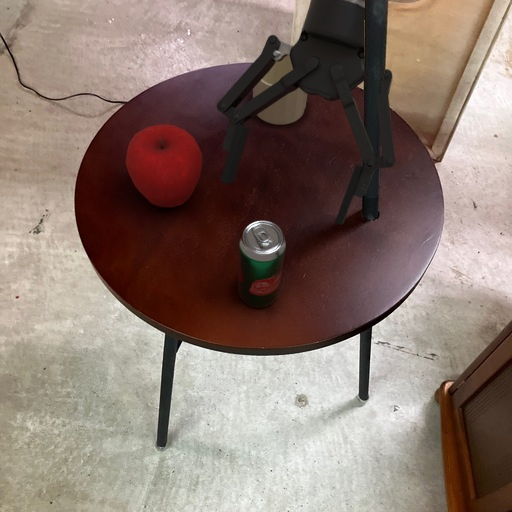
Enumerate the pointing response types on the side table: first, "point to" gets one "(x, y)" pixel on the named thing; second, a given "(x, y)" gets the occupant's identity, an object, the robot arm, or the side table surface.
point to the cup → (287, 106)
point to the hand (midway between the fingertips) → (281, 202)
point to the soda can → (260, 263)
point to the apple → (164, 164)
